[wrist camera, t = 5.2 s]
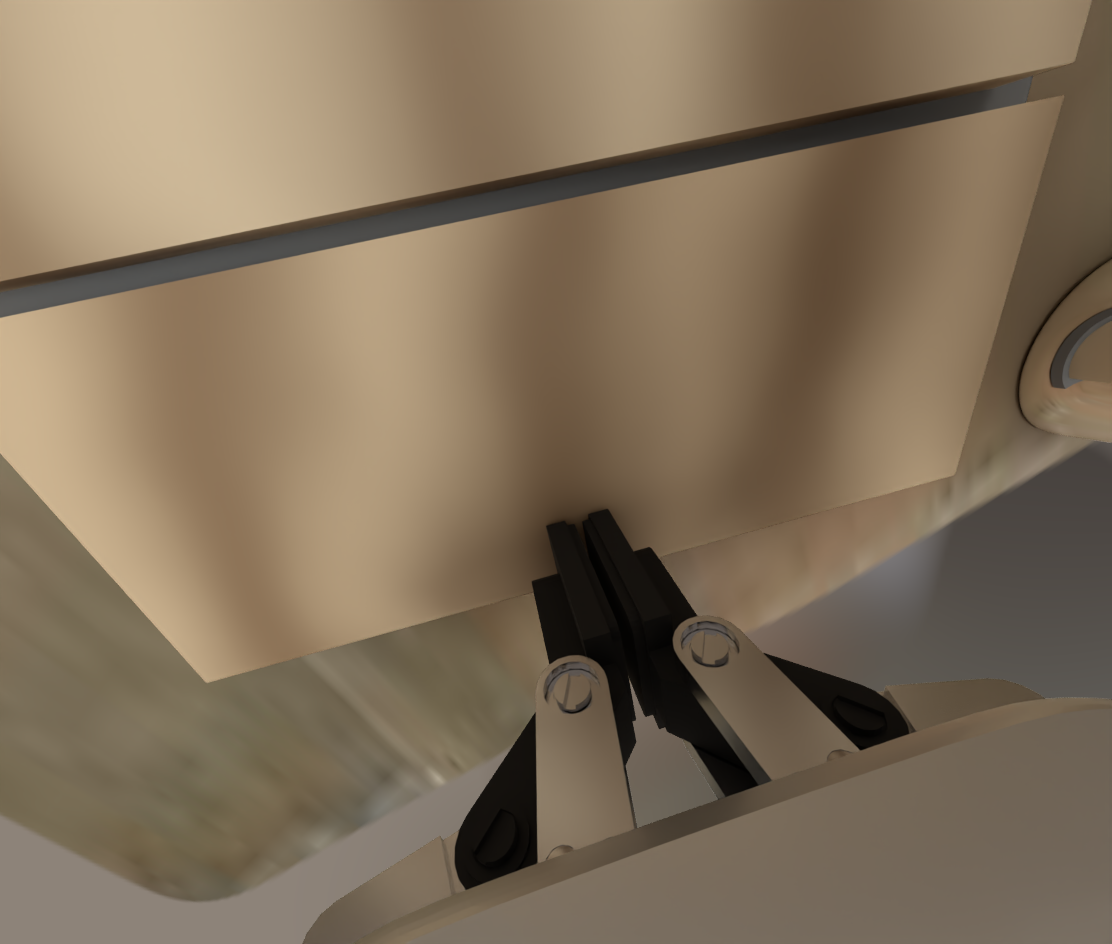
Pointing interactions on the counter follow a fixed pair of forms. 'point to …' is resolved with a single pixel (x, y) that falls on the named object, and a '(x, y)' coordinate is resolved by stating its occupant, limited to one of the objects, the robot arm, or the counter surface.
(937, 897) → the robot arm
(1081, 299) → the beer glass
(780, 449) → the loose plank
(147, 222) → the board
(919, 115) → the underlay mat
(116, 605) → the counter surface
